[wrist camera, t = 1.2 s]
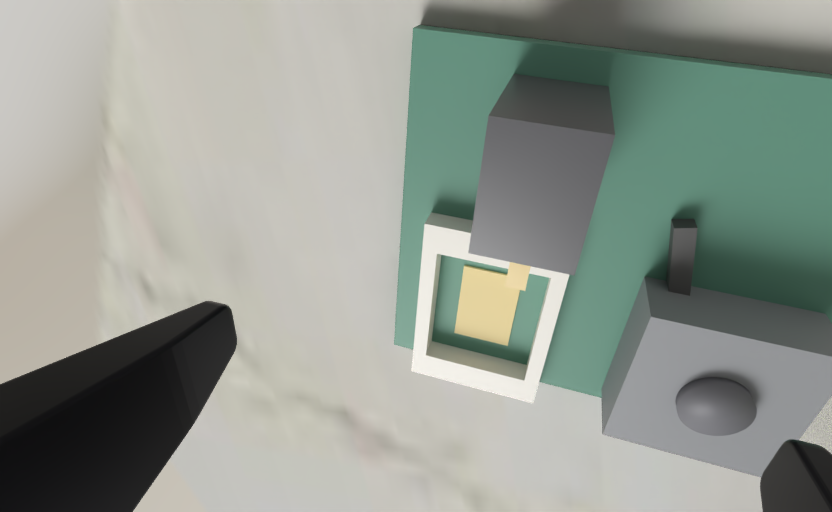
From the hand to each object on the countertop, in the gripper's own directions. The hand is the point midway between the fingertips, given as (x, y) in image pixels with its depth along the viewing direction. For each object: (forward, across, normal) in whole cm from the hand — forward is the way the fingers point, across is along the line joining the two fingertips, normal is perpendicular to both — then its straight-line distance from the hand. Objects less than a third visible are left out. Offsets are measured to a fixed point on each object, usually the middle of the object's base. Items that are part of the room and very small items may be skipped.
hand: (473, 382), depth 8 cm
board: (+12, -3, +4) cm, 13 cm away
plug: (+11, 0, 0) cm, 11 cm away
